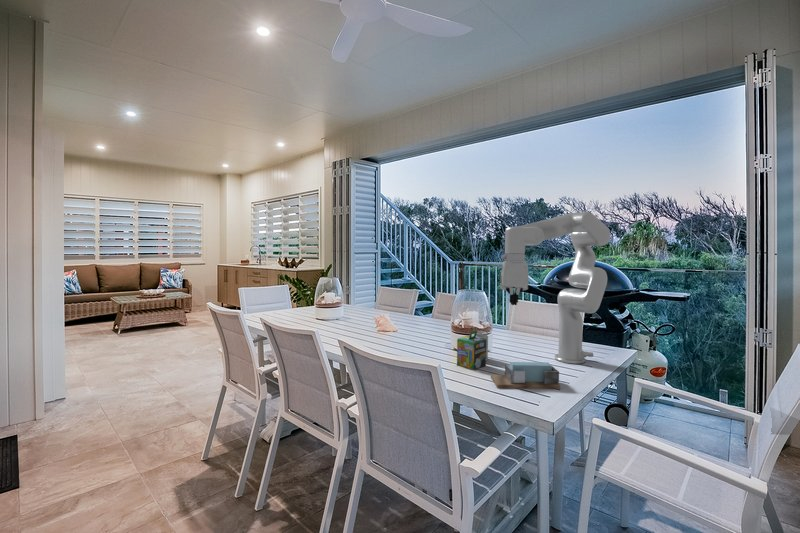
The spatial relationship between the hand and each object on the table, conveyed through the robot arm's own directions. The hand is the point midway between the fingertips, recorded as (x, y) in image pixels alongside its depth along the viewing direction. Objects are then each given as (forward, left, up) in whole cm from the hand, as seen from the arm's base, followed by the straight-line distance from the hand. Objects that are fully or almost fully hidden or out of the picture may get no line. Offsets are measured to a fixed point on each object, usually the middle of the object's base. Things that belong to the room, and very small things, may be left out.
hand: (513, 304), depth 157 cm
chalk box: (+15, -8, -27) cm, 32 cm away
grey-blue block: (-3, +13, -26) cm, 29 cm away
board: (-1, +13, -27) cm, 30 cm away
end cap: (+2, +13, -26) cm, 29 cm away
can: (+10, -18, -27) cm, 34 cm away
